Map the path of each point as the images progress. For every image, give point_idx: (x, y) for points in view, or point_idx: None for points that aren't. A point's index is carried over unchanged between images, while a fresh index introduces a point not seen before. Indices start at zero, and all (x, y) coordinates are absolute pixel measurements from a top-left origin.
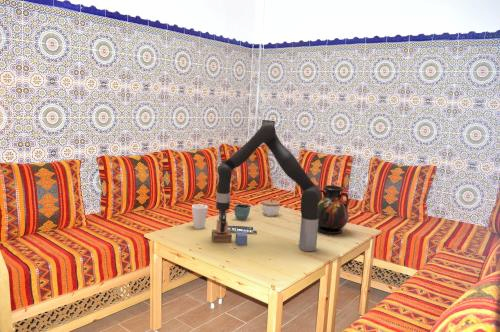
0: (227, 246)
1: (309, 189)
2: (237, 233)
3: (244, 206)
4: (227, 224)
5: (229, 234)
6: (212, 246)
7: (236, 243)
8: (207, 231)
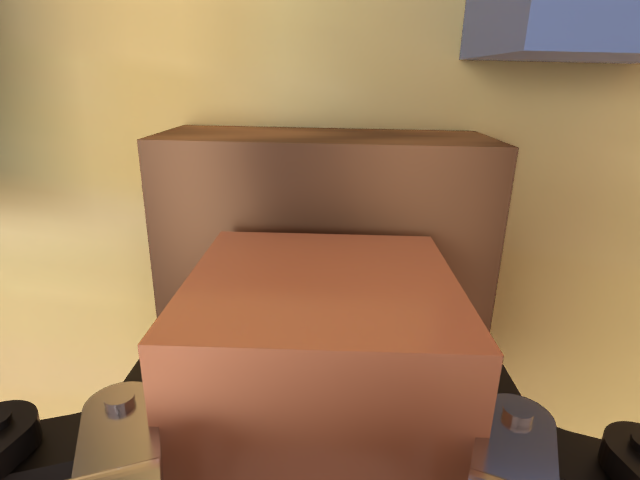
0: (633, 219)
1: None
2: (614, 17)
3: None
4: (485, 332)
5: (459, 187)
6: (578, 401)
7: (598, 62)
8: (5, 395)
